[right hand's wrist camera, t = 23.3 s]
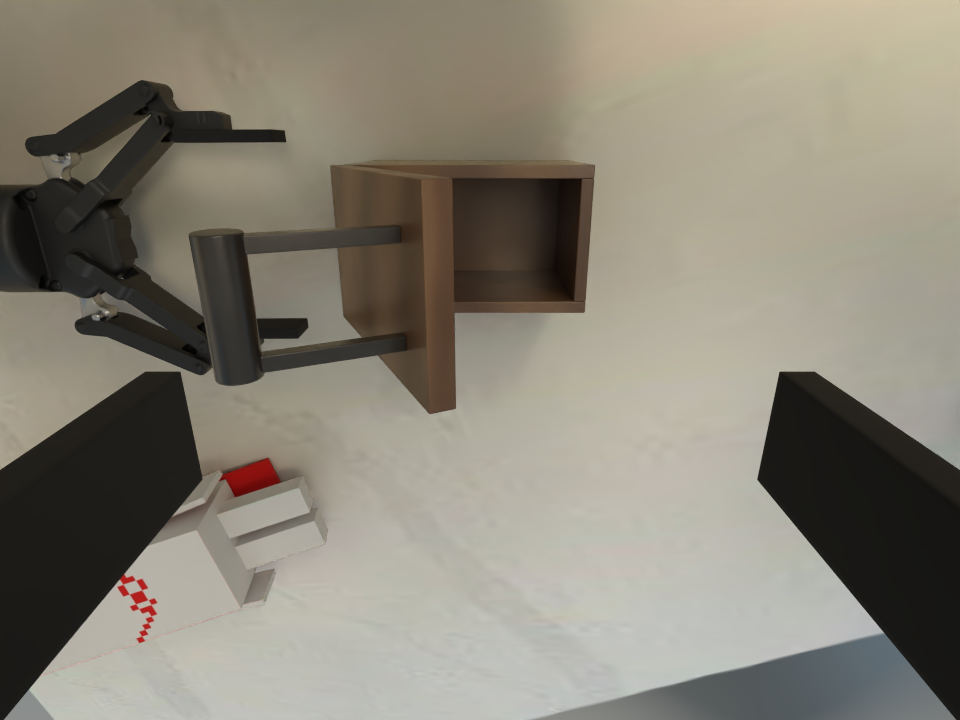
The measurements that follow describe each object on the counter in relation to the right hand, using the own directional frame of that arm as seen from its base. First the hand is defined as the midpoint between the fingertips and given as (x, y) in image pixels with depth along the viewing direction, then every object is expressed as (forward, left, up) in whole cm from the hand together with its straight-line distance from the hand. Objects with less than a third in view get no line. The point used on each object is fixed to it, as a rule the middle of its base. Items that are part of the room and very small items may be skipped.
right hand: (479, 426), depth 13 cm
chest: (0, -1, -36) cm, 36 cm away
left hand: (+8, -11, -30) cm, 33 cm away
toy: (+41, -8, -36) cm, 56 cm away
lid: (+2, -4, -18) cm, 18 cm away
